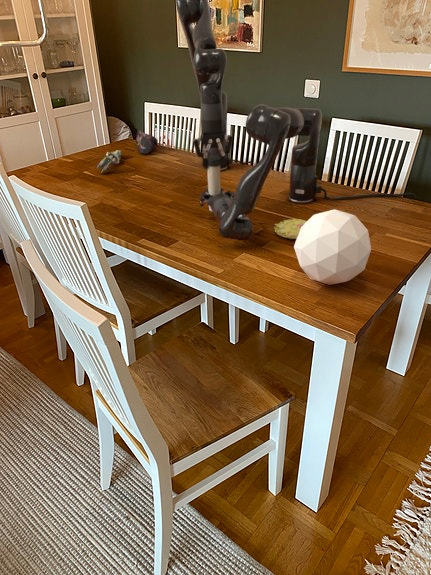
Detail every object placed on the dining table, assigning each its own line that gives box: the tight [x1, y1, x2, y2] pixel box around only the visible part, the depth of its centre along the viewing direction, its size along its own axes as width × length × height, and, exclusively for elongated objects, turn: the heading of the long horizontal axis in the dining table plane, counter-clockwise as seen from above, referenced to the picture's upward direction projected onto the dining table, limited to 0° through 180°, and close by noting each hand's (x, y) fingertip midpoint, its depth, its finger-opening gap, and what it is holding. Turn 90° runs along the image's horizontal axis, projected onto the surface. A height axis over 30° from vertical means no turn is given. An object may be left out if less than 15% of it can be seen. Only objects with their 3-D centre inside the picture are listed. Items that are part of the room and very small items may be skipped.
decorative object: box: [273, 218, 308, 240], centre depth 145 cm, size 21×2×20 cm
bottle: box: [206, 165, 222, 213], centre depth 160 cm, size 5×5×19 cm
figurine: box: [96, 150, 123, 174], centre depth 213 cm, size 7×8×30 cm
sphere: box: [293, 208, 372, 286], centre depth 116 cm, size 19×20×20 cm
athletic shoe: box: [135, 130, 162, 155], centre depth 233 cm, size 11×22×12 cm
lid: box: [206, 156, 221, 166], centre depth 155 cm, size 5×5×2 cm
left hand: (213, 166), depth 156 cm, fingers closed on lid, 5 cm apart
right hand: (213, 191), depth 164 cm, fingers closed on bottle, 4 cm apart
